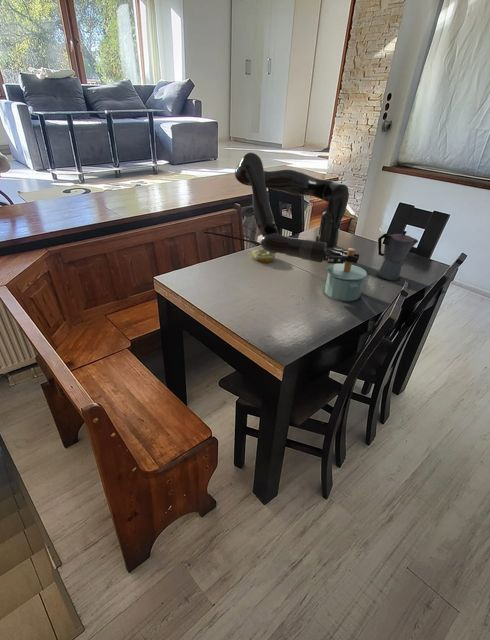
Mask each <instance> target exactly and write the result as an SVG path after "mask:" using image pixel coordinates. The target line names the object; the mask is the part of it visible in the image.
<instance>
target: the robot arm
mask: <svg viewBox="0 0 490 640" xmlns="http://www.w3.org/2000/svg"><path fill="white" fill-rule="evenodd" d="M234 177H235V179H236V180H237V182H238V183H240V184H242V185H245V186H248V187H251V190H252V212H253V216H254V219H255V223H256V226H257V228H258V230H259V232H260V233H261V235H262V236H263V238H262V241H261V244H260V243H259V242H258V241H254V240H250V239H246V238H241V237H237V236H233V235H227V234H223V233H217V232H212V231H211V232H210V231H204V234H207V235H213V236H219V237H225V238H229V239H233V240H238V241H243V242H246V243H250V244H251V243H252V244H255V245H260V246H261V247H262V249H264V250H266V251H268V252H269V253H273V254H274V253H275V254H284V255H285V256H287V257H288V256H289V257H292V258H297V259H302V260H305V261H310V262H315V263H323V261H324V260H325V261H326V260H327V261H326V262H327V264H345V262H346V261H347V262H351V263H352V264H357V263H358V260H359V259H360V253H355V254H354V256H349V255H348V256H347V252H348V248H344V247H341V246H338V241H339V236H340V230H341V225H342V221H343V218H344V217H345V214H346V211H347V207H348V203H349V199H350V189H349V187H348V186H347V185H346V184H344V183H342V182H339V181H336V180H328V179H322V178H321V179H320V178H317V177H314V176H313V175H310V174H308V173H305V172H302V171H301V170H297V169H292V168H282V169H276V170H265V169H264V163H263V161H262V158H261V157H260V156H259V155H258V154H257V153H255V152H251V151H250V152H247V153H245V154H244V156H242V158H241V159H240V161H239V162H238V164H237V165H236V167H235V169H234ZM267 189H270V190H273V191H277V192H282V193H285V194H289V195H293V196H299V197H300V196H301V197H314V198H316V199H319V200H322V201H324V202H325V203H328V204H327V208H326V211H323V212H322V214H321V217H320V223H319V229H318V234H317V235H316V236H315V240H313V239H302V238H297V237H288V236H285V235H282V234H280V233H279V230H278V228H277V225H276V222H275V218H274V214H273V211H272V208H271V205H270V199H269V195H268V190H267Z"/></svg>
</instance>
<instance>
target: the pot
mask: <svg viewBox="0 0 490 640" xmlns="http://www.w3.org/2000/svg"><path fill="white" fill-rule="evenodd" d="M326 276H327V277H326V282H325V287H324V293H325V295H326V296H328V297H329V298H332V299H334V300H337V301H343V302H350V301H351V302H352V301H356V300H358V299H359V298H360V297H361V294H362V291H363V287H364V283H365V279H366V277H365V278H364V279H361V280H344V279H339V278H336V277H334V276H332V275H330V274H329V273H328V272H327V275H326Z"/></svg>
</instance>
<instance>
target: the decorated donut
mask: <svg viewBox="0 0 490 640" xmlns="http://www.w3.org/2000/svg"><path fill="white" fill-rule="evenodd" d="M275 257H276V253H274V254H273V253H269V252H268V251H266V250H264V249H263V248H257V249H255V250H253V251H252V258H253V259H254V260H255V261H257V262H259V263H266V264H267V263H271V262H272V261H274V259H275Z"/></svg>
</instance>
